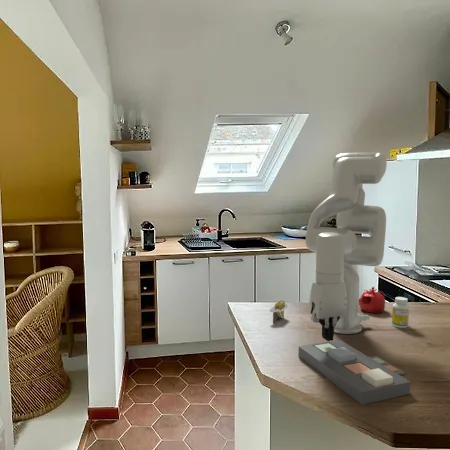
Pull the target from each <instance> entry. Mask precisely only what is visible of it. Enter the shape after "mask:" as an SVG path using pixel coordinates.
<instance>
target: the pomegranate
mask: <svg viewBox="0 0 450 450" xmlns="http://www.w3.org/2000/svg"><path fill="white" fill-rule="evenodd" d="M383 294H384V292H383V291H378V289H376V288H375V286H372V287H371V288H370V289H369V288H368V289H365V291H364V292H363V293H362V295H360V297H359V299H358V307H359V308H360V309H361V310H363V312H366V313H370V314H372V313H373V314H378V313H382V312H384V310H385V307H386V298H385V296H384V295H383Z"/></svg>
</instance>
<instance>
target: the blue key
mask: <svg viewBox="0 0 450 450" xmlns="http://www.w3.org/2000/svg"><path fill="white" fill-rule="evenodd" d="M328 356H329V357H331V358H332V359H334V360H335V361H336V362H338V363H343V362H348V361H354V360H355V354H354V353H353V352H351V351H349V350H348V349H346V348H345V347H341V348H335V349H329V350H328Z"/></svg>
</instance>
